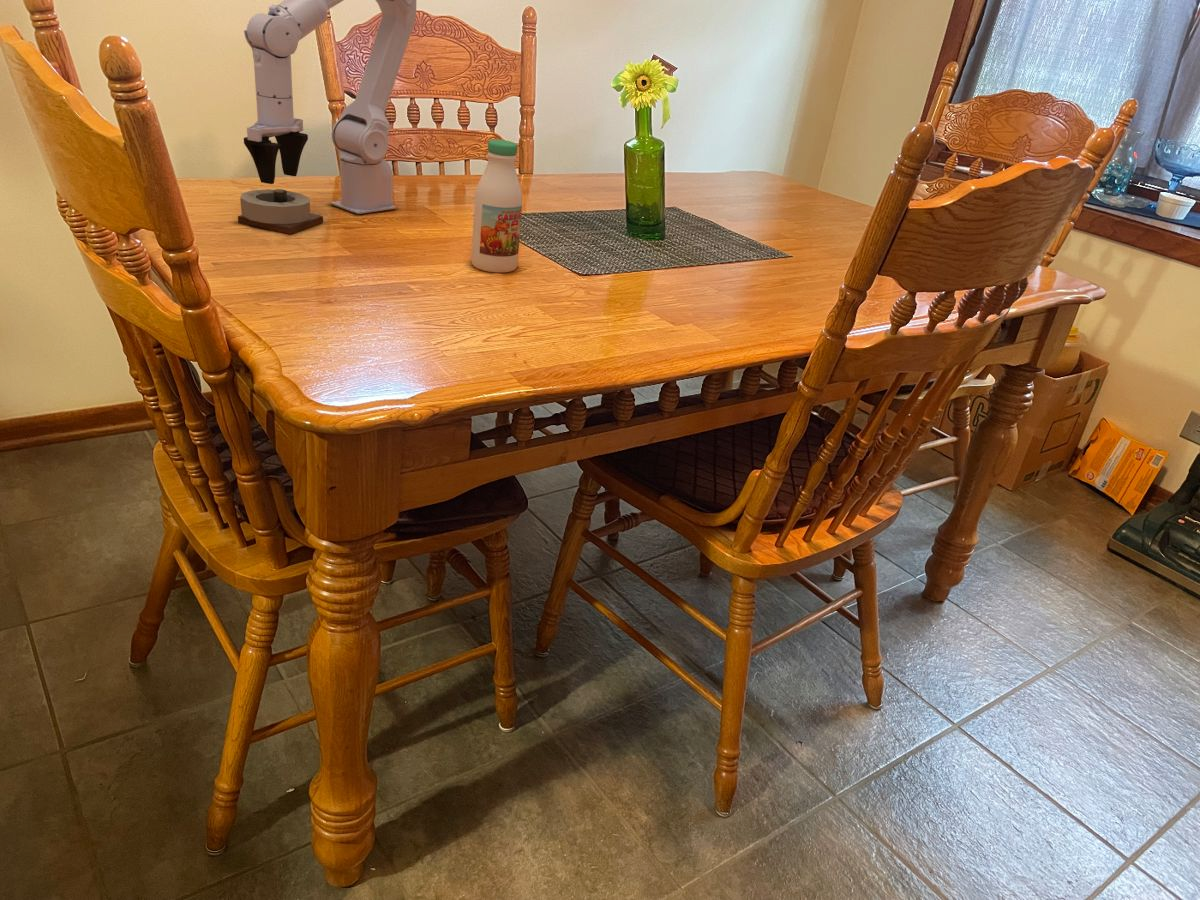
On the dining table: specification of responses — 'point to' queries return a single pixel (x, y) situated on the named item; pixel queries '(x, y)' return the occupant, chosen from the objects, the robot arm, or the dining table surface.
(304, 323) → the dining table surface
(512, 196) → the milk bottle
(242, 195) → the tape roll
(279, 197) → the stand
